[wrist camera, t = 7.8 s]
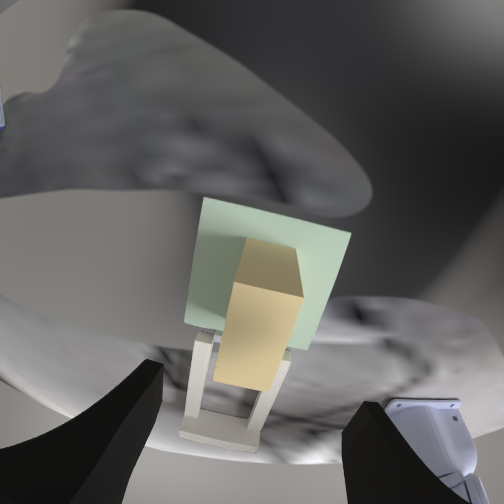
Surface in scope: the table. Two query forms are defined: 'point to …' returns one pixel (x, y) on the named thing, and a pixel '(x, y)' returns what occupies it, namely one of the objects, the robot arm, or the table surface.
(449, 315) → the table surface
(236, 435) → the dispenser
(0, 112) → the medicine box
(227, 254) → the mat
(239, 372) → the tan rectangular block
